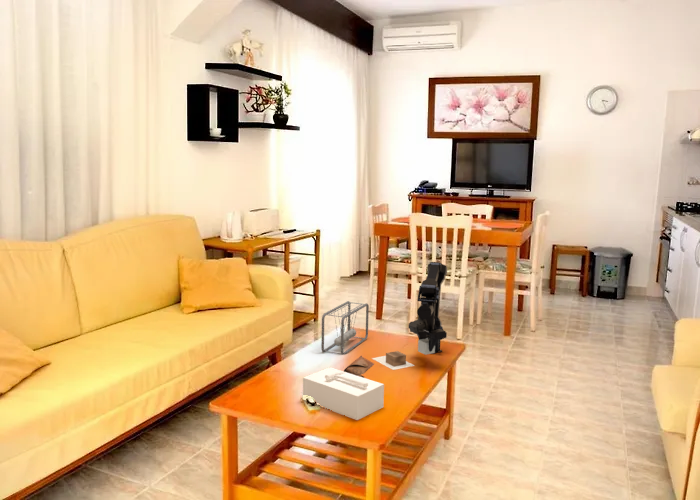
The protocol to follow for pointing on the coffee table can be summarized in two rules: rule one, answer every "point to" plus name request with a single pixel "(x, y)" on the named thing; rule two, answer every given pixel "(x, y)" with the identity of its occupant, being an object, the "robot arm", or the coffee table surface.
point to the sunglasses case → (359, 366)
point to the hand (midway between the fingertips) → (426, 349)
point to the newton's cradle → (350, 332)
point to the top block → (424, 346)
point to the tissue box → (344, 392)
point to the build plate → (383, 361)
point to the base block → (395, 358)
